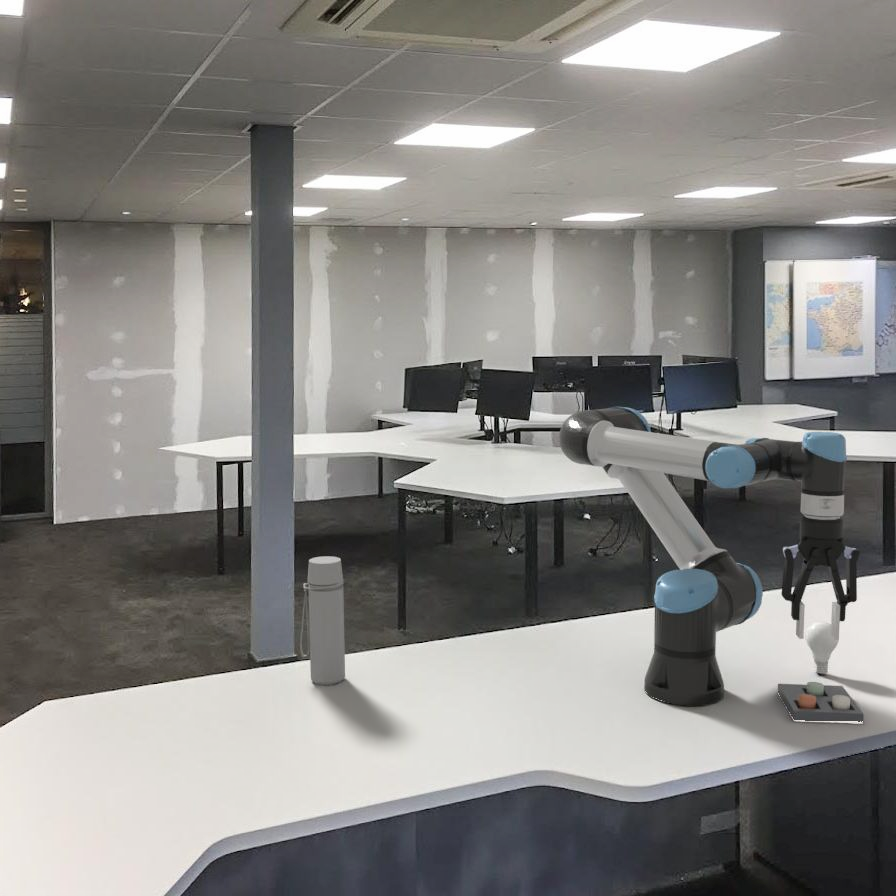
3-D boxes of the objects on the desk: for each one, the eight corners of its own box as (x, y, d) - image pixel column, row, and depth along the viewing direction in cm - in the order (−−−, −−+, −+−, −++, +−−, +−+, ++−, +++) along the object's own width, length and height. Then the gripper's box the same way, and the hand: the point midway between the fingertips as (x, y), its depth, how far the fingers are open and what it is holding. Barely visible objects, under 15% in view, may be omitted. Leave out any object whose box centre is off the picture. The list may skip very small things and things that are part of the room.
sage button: (808, 697, 187) (809, 687, 186) (804, 692, 190) (805, 681, 189) (825, 698, 186) (825, 687, 186) (821, 692, 189) (821, 682, 189)
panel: (794, 721, 179) (794, 711, 179) (777, 693, 193) (777, 683, 192) (863, 724, 178) (863, 713, 177) (841, 695, 191) (842, 685, 191)
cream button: (834, 711, 180) (834, 700, 180) (830, 705, 183) (830, 694, 183) (851, 712, 180) (852, 701, 179) (847, 706, 182) (847, 695, 182)
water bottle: (349, 673, 206) (347, 555, 203) (341, 687, 198) (339, 565, 195) (306, 672, 207) (302, 555, 204) (296, 686, 199) (293, 564, 196)
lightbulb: (841, 679, 200) (844, 626, 199) (810, 679, 200) (812, 626, 199) (830, 668, 206) (832, 617, 205) (799, 668, 206) (801, 617, 205)
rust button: (800, 710, 181) (800, 699, 180) (796, 704, 184) (796, 693, 183) (817, 711, 180) (817, 700, 180) (813, 704, 183) (813, 693, 183)
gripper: (774, 518, 181) (770, 641, 184) (880, 520, 179) (875, 644, 182) (765, 511, 189) (762, 629, 191) (868, 512, 186) (863, 632, 189)
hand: (817, 636), depth 187 cm, fingers open, 6 cm apart
